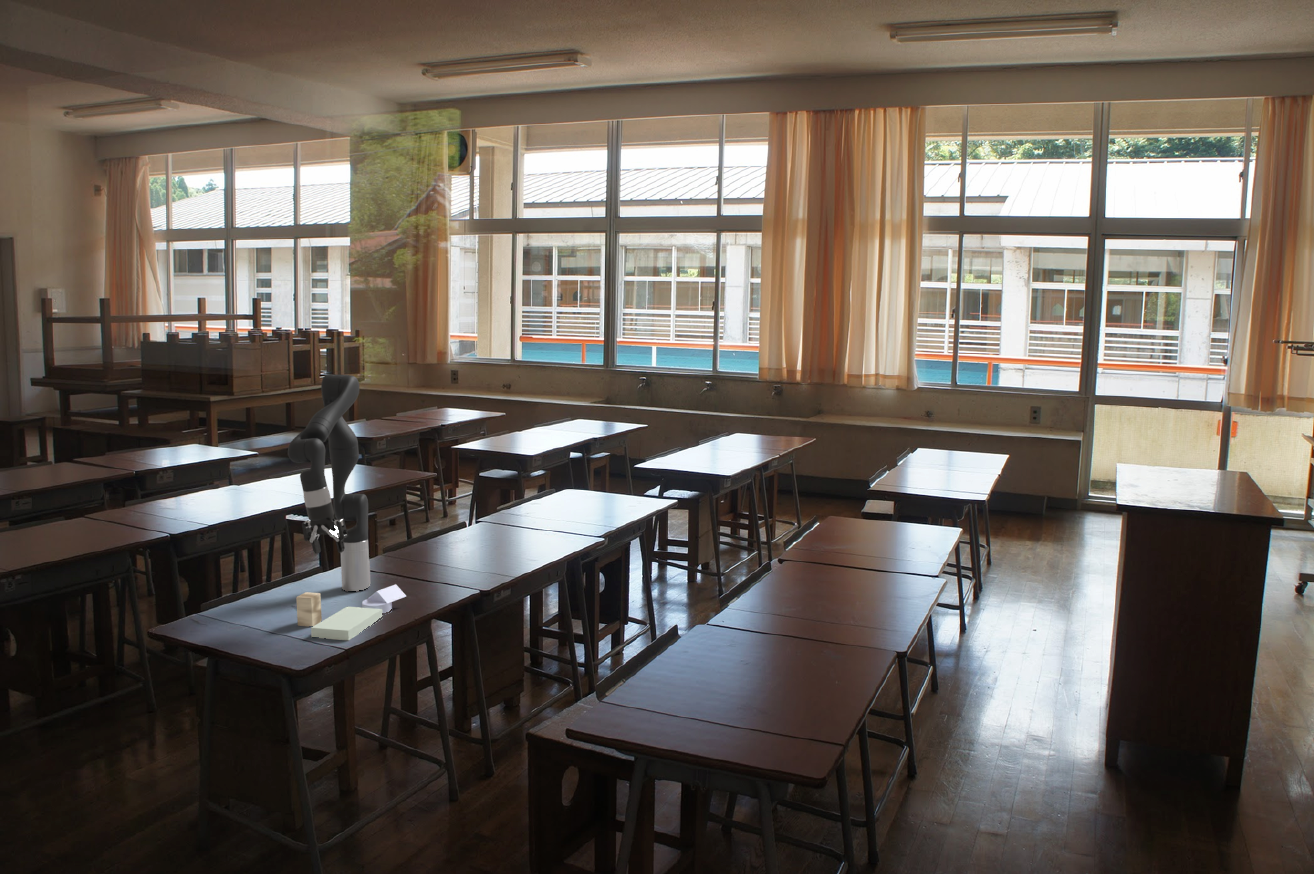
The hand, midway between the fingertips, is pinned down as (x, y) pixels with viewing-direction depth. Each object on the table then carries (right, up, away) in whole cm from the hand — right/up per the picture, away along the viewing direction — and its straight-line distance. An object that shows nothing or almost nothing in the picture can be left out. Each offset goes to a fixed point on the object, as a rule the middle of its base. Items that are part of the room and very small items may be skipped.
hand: (329, 552), depth 280 cm
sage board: (+8, -22, -5) cm, 24 cm away
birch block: (-5, -22, -2) cm, 22 cm away
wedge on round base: (+13, -20, +12) cm, 27 cm away
